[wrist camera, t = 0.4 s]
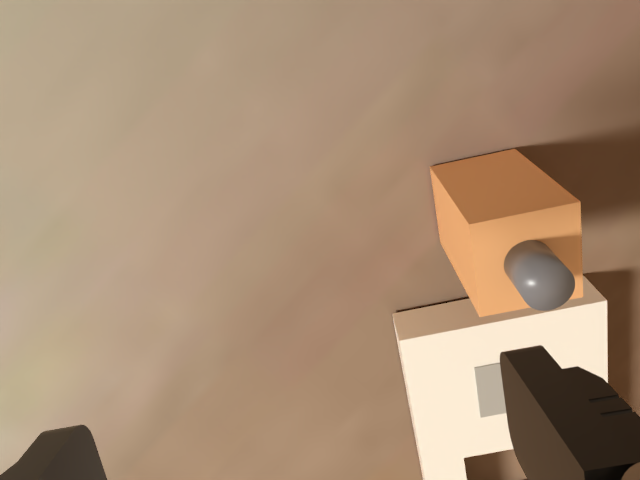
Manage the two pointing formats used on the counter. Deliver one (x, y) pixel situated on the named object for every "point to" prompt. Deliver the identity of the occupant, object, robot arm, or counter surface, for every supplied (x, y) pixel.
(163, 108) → the counter surface
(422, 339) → the power strip
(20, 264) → the counter surface
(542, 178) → the block
